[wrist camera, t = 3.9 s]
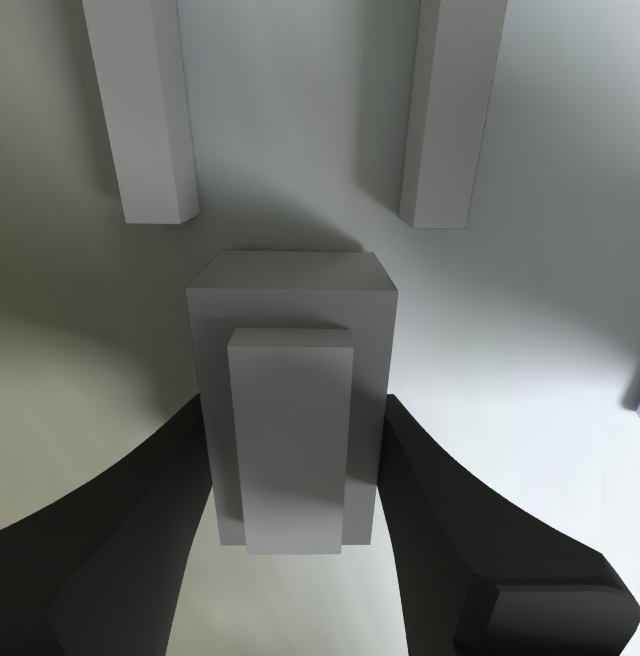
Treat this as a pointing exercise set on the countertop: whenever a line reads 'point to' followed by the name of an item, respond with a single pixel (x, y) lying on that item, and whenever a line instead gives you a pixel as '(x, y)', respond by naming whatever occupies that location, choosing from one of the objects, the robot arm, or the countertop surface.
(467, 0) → the deck
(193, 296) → the stepped grey block
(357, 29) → the countertop surface
